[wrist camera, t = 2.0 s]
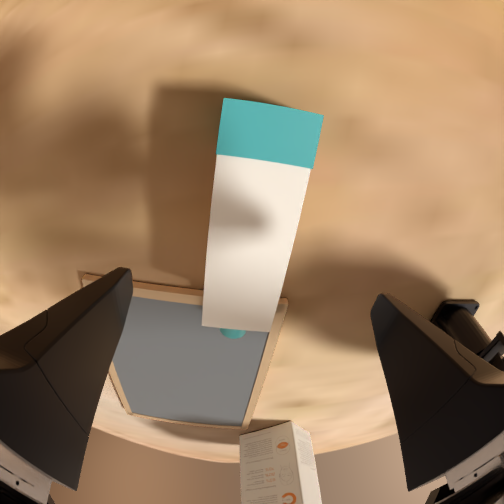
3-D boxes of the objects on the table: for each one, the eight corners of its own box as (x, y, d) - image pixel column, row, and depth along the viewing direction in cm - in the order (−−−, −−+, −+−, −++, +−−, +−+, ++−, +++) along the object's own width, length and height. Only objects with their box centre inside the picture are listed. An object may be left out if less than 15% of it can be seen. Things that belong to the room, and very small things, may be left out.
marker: (303, 112, 14) (323, 115, 10) (260, 312, 20) (264, 354, 17) (228, 100, 13) (223, 97, 10) (205, 306, 20) (199, 349, 16)
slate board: (286, 298, 20) (288, 304, 19) (247, 425, 30) (247, 429, 29) (85, 273, 18) (81, 279, 18) (128, 409, 28) (127, 414, 28)
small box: (262, 446, 34) (267, 520, 23) (238, 434, 32) (239, 519, 20) (311, 432, 33) (324, 511, 21) (291, 419, 30) (304, 512, 18)
